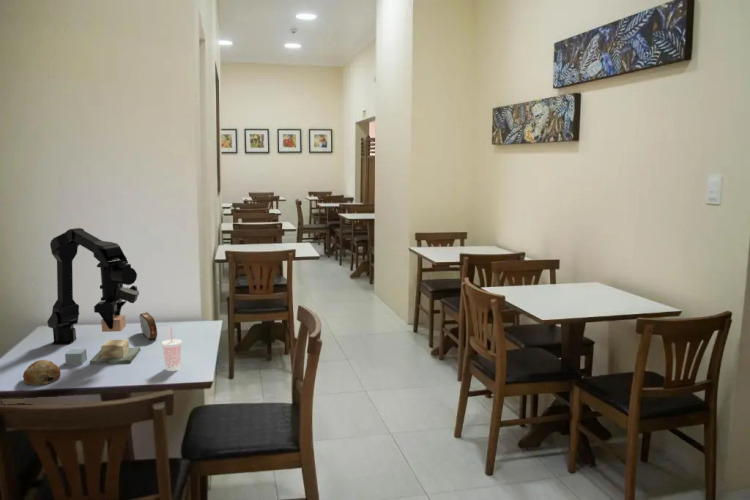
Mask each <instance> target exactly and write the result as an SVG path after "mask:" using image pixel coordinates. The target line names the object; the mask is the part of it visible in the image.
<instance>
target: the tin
mask: <svg viewBox="0 0 750 500" xmlns="http://www.w3.org/2000/svg"><path fill="white" fill-rule="evenodd" d="M139 320H140V321H139V322H140V328H141V331H142V334H143V335H144V336H145V337H146V338H147V339H148V340H153V339H157V338H158V328H157V323H156V320H155V318H154V317H153V316H152V315H151V314H150V313H149V312H148V311H146V312H143V313H140V314H139Z"/></svg>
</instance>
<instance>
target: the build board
mask: <svg viewBox="0 0 750 500" xmlns="http://www.w3.org/2000/svg"><path fill="white" fill-rule="evenodd" d="M140 351H141V347H140V346H139V347H130V342H129V339H108V340H106V341H105V342H104V343H103V344H102V345H101V347H100V350H99V351H98V352H97V353H96V354H95V355H94V356H93V357H92V359H91V360H89V365H106V364H107V365H109V364H131V363H133V360H134V359H135V358H136V357H137V355H138V354H139V353H140Z"/></svg>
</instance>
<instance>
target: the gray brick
mask: <svg viewBox="0 0 750 500" xmlns="http://www.w3.org/2000/svg"><path fill="white" fill-rule="evenodd" d="M87 353H88V352H87V348H70V349H69V350H68V351H67V352H66V353H64V357H65V358H64V359H65V366H82V365H83V364H84V363H85V362H86V361H87V360H88V355H87Z"/></svg>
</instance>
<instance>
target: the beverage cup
mask: <svg viewBox="0 0 750 500" xmlns="http://www.w3.org/2000/svg"><path fill="white" fill-rule="evenodd" d="M169 328H170V329H169V330H170V331H169V332H170V339H166V340H164V341H163V340H162V342H161V345H162V348H163V355H164V356H163V357H164V358H163V359H164V365H165V366H164V367H165V371H167V372H168V371H169V372H175V371H178V370H180V369H181V355H182V354H181V352H182V351H181V348H182V346H181V345H182V340H181V339H178V338H173V328H172V326H170V327H169Z"/></svg>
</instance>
